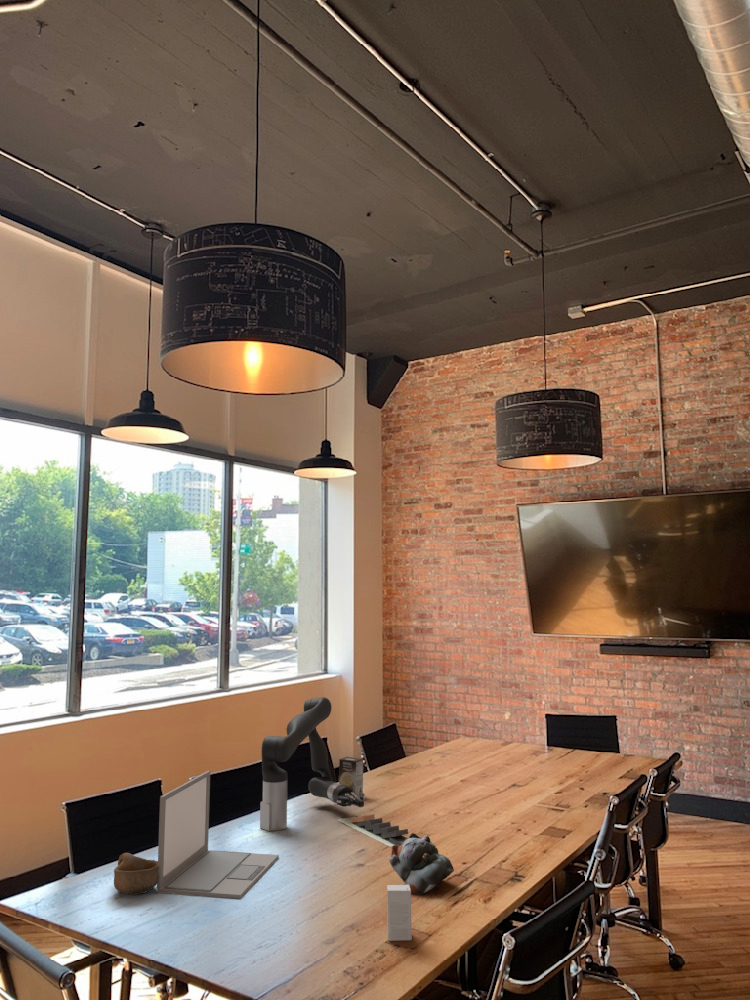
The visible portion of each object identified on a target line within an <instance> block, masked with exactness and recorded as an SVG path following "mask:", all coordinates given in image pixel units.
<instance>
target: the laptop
mask: <svg viewBox="0 0 750 1000" xmlns="http://www.w3.org/2000/svg"><path fill="white" fill-rule="evenodd" d="M210 789H211V771H210V770H207V771H205V772H203V773H201V774H200V775H197V776H196V777H194V778H192V779H190V780H188V781H187V782H185V783H183V784H181V785H180V786H178V787H175V788H174V789H172V790H170V791H168V792H167V793H165V794H162V795H160V797H159V821H158V826H159V827H158V847H157V851H158V853H157V861H158V867H159V868H158V874H159V880H158V883H157V885H156V893H161V894H162V893H163V894H172V893H175V894H174V895H185V894H189V895H188V896H198V895H205V896H204V897H211V896H213V897H215V898H224V897H225V898H227V899H237V898H241V899H242V898H243V897H244V896H245V894H246V893H247V892H249V890H250V889H251V888H252V887H253V886H254V885H255V884H256V883H257V882H258V881H259V880H260V879H261V878H262V876H264V874H265V873H266V872H267V871H268V870H269V869H270V868H271V867H272V866H273V865H274V863H275V862H276V861H278V859H279V858H280V857H279V854H267V853H256V852H255V853H254V852H244V851H243V852H241V851H225V850H210V849H209V833H210V831H209V830H210V829H209V828H210V827H209V825H210V822H209V821H210V798H211V797H210V793H211V791H210ZM213 897H212V898H213Z"/></svg>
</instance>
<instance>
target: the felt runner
mask: <svg viewBox="0 0 750 1000" xmlns="http://www.w3.org/2000/svg"><path fill="white" fill-rule="evenodd" d="M350 818H355V816H350V817H345V818H340V819H337V821H339V822H340V823H343V824H344V825H347V826H348V827H350V828H352V829H354V830H355V831H356V830H357V831H358V832H360V833H362V834H364V835H366V836H368V837H369V838H372V839H374V840H375V841H378V842H380V843H381V844H384V845H386V846H388V847H389V848H392V846H393V845H394V844H392V843H390V842H389V837H388V838H382V835H381V834H382V833H380V834H373V829H372V830H366V829H365V826H358V822H353V823H351V820H350Z"/></svg>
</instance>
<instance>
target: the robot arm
mask: <svg viewBox="0 0 750 1000" xmlns="http://www.w3.org/2000/svg"><path fill="white" fill-rule="evenodd" d="M331 713H332V702H331V701H330V699H329V698H327V697H324V696H320V697H315V698H309V699H308V698H307V699H306V700H305V701H304V704H303V712H300V713H299V714H296V715H295V716H293V718H292V719H291V720H290V721H289V722H288V723H287V726H286V736H282V735H281V736H280V735H279V736H278V735H277V736H276V735H267V736H265V737H264V739H263V741H262V743H261V773H262V801H260V804H259V805H260V809H259V810H260V811H259V813H260V814H259V828H260V829H263V830H265V831H267V832H274V831H276V832H277V831H281V830H285V829H287V828H288V827H287V826H288V772H287V771H286V770H285V769H284V768H281V767H280V766H278V765H277V763H278V762H279V763H284V762H288V761H289V760H290V758H291V757H292V756H293V755H294V753H295V751H296V750H297V748H298V747H299V746H300V744H301V743H302V742H303V741H304V740H305V739H307V737H308V741H309V742H308V743H309V746H310V747H309V748H310V759H311V761H310V762H311V763H310V764H311V769H312V771H314V772H318V773H319V774H321V776H319V777H318V776H316V777H313V778H311V779H310V780H309V782H308V785H307V786H308V791H309V793H310V794H311V795H313V796H315V797H318V798H325V799H327V800H329V801H331V802H332V803H334V804H336V805H337V806H341V807H345V808H346V807H350V806H351V807H352V806H354V807H358V808H364V807H365V797H366V795H365V793H363V794H360V796H358V794H355V793H353V791H352V789H351V788H349V787H347V786H345V785H342V784H339V782H336V781H334V779H333V777H332V774H331V770H330V766H329V760H328V759H329V756H328V749H327V745H326V743H325V741H324V740H323V739H322V737H321V736H320V734H319V732H318V730H317V727H318V726H319V725H320V724H321V723H323V721H325V720H327V719H328V718H329V716H330V715H331ZM276 762H277V763H276Z"/></svg>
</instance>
